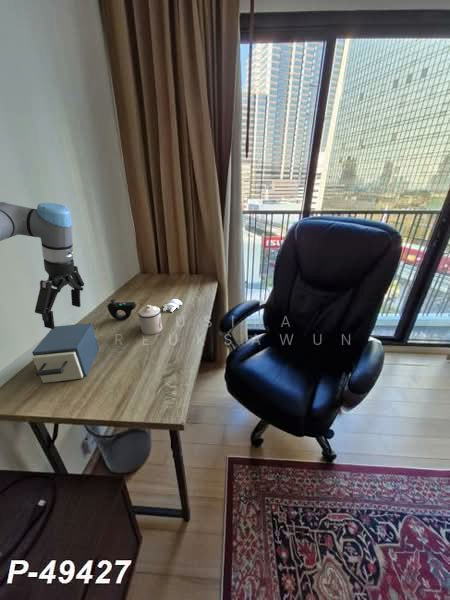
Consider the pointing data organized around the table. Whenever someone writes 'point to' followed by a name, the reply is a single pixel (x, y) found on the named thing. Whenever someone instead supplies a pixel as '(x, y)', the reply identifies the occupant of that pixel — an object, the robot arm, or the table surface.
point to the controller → (116, 306)
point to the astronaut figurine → (172, 305)
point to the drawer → (58, 366)
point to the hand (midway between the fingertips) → (63, 316)
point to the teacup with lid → (150, 319)
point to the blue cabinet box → (71, 343)
